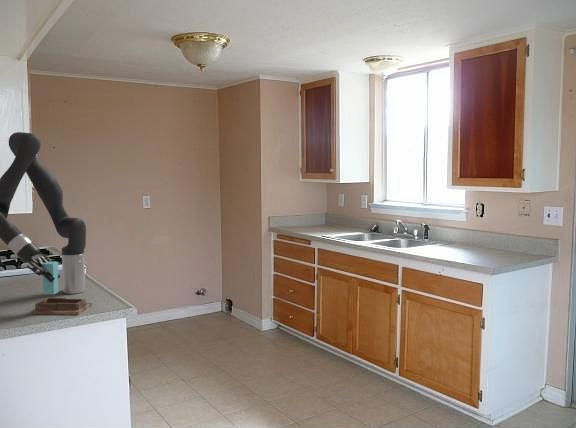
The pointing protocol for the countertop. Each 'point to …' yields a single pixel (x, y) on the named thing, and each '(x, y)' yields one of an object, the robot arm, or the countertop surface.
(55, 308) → the keyhole board
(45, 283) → the post
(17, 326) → the countertop surface
